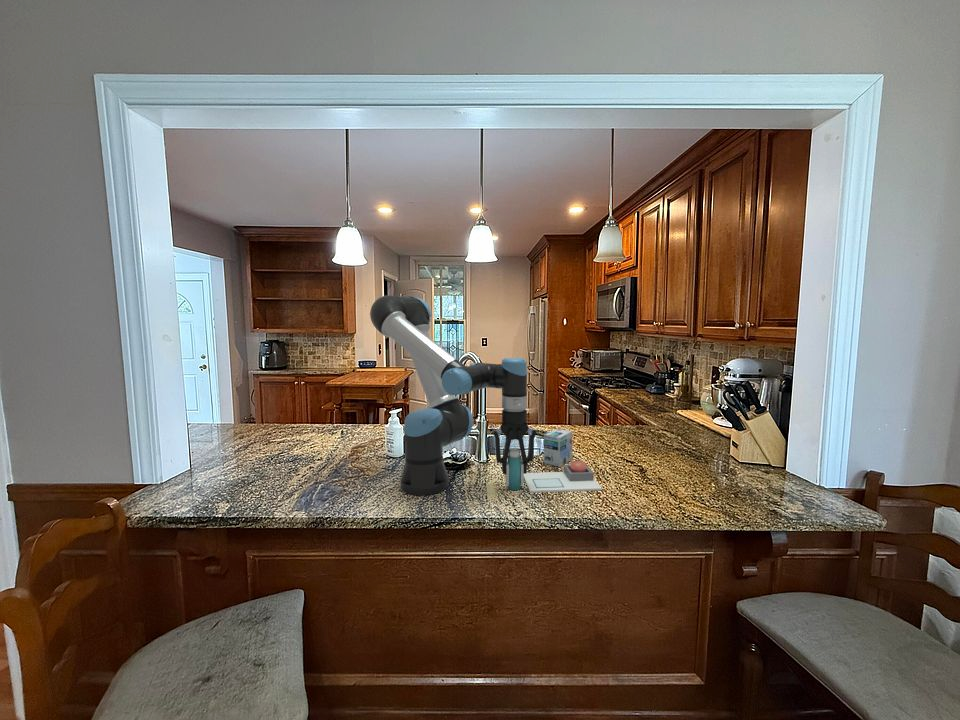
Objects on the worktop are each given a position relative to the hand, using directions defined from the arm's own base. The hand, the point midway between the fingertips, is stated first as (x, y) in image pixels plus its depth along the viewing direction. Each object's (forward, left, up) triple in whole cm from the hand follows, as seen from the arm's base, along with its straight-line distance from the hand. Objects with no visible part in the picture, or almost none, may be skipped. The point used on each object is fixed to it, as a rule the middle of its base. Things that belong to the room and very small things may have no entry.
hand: (514, 483), depth 122 cm
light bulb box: (+19, +22, -2) cm, 29 cm away
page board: (+15, +3, -1) cm, 15 cm away
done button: (+22, +6, +1) cm, 22 cm away
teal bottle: (0, 0, -1) cm, 1 cm away
